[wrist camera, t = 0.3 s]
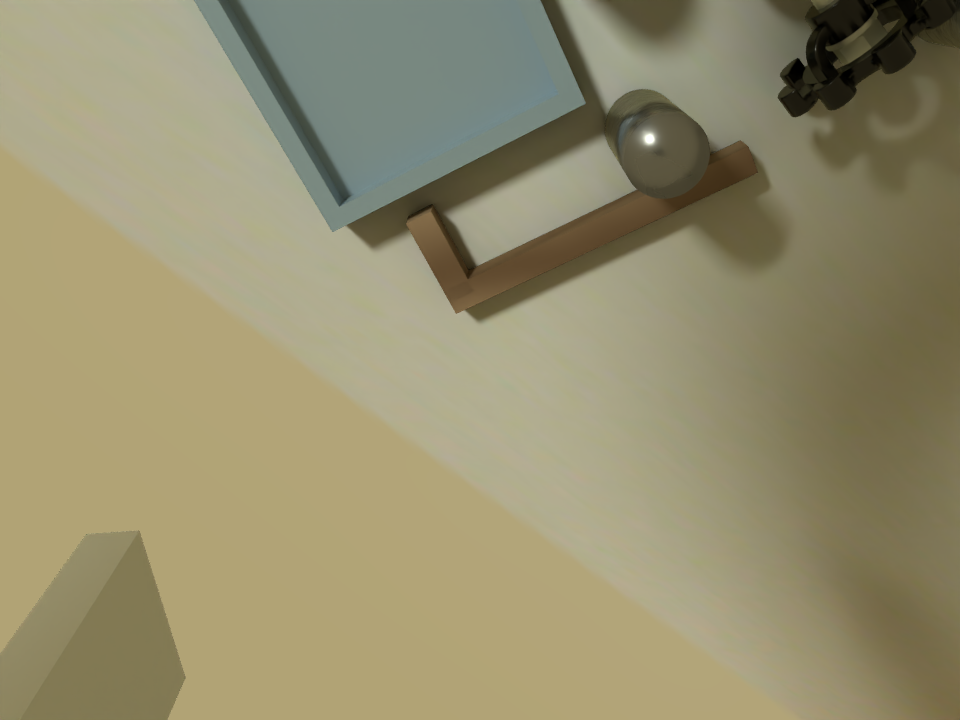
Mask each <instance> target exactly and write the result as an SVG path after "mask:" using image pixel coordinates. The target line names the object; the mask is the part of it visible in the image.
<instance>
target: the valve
mask: <svg viewBox="0 0 960 720" xmlns="http://www.w3.org/2000/svg"><path fill="white" fill-rule="evenodd" d="M811 2H812V3H813V6H812V7H811V8H810V9H809V11H808V12H807V14H806V16H805V20H806V22H807V23H808V24H809V26H810V27H811V29H812V30H813V32H812V34H811V35H810V37H809V39H808V42H807V46H806V59H807V63H808V65H807V66H805V67H804V65H803V64H802V62H801V61H800V60H799V59H798V58H797V59H795V60H794V61H792V62H791V63H789V64H788V65H787V66H786V67H785V68H784V69H783V70H782V72H781V74H780V77H781V79H782V80H783V81H784V83H785V84H786V85H787V86H785V87H784V88H783V89H782V90H781V91H780V93H779V94H778V99H779V101H780V102H781V103H782V105H783V106H784V107H785V109H786V110H787V111H788V112H789V114H790V115H791V116H792V117H798V116H801V115H803V114H804V113H806V112H807V111H809V110H810V109H811V108H812V107H813V106H814V105H815V104H816V102H817V100H818V99H820V100H821V102H822V103H823V104H824V106H825V107H826V108H827V109H828V110H830V111H832V110H836V109H838V108H840V107H842V106H844V105H845V104H846V103H848V102H849V101H850V100H851V99H852V98H853V97H854V96H855V94H856V91H857V89H856V85H857V84H858V83H859V82H861V81H862V80H863V79H865V78H866V77H868V76H869V75H871V74H872V73H874V72H876V71H878V70H880V69H882V71H883V72H884V73H885V74H892V73H895V72H897V71H899V70H901V69H902V68H904V67H905V66H906V65H908V64H909V63H910V62H911V61H912V60H913V58H914V57H915V55H916V50H915V49H914V47H913V46H912V44H911V43H910V42H911V40H912V39H913V38H914V37H915V36H916V35H918V34H919V33H920V32H922V31H923V30H932V29H935V28H937V27H939V26H941V25H942V24H944V23H945V22H946V21H948V20H949V19H950V18H951V17H952V16H953V15H954V14H955V12H956V10H957V7H956V5H955V4H954V2H953V0H811ZM898 19H900V20H899V21H898V22H897V24H896V25H895V26H894V27H893V29H892V30H891V31H890V32H889V33H887V32H886V30H885V29H884V27H883V25H885V24H887V23H890V22H892V21H895V20H898ZM837 59H839V60H840V62H841V63H843V64H845V65H844V66H842V67H840V68H838V69H835V67H834V66H833V64H834V63H835V61H836V60H837Z"/></svg>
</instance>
